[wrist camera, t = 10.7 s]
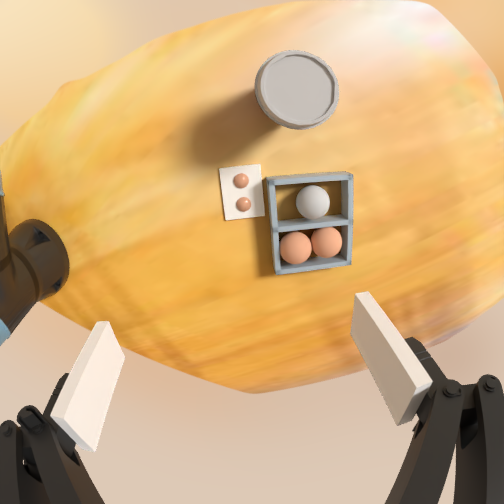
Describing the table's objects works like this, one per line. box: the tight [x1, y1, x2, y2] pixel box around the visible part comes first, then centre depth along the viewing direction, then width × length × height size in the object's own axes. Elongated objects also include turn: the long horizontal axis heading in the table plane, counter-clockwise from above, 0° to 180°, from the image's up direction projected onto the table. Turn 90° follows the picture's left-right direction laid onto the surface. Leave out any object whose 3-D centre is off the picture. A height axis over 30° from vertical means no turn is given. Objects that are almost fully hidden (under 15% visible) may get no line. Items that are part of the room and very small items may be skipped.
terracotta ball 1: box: [279, 232, 312, 264], centre depth 44 cm, size 5×5×5 cm
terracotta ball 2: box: [310, 227, 342, 258], centre depth 44 cm, size 5×5×5 cm
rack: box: [266, 171, 353, 275], centre depth 43 cm, size 13×15×3 cm
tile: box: [219, 164, 265, 220], centre depth 42 cm, size 6×8×1 cm
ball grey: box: [296, 185, 330, 219], centre depth 41 cm, size 5×5×5 cm
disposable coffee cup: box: [255, 50, 339, 130], centre depth 31 cm, size 10×10×12 cm
